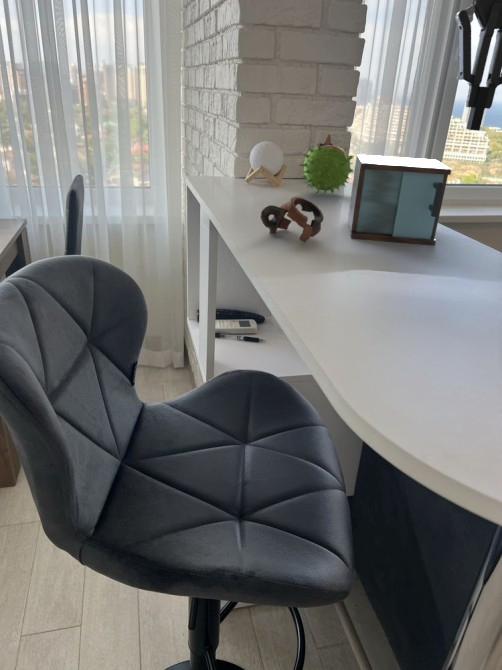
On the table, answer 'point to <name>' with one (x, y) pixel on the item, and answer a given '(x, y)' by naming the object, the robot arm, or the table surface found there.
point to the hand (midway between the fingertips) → (472, 129)
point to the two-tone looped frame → (293, 217)
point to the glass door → (418, 204)
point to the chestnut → (327, 167)
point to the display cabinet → (385, 196)
